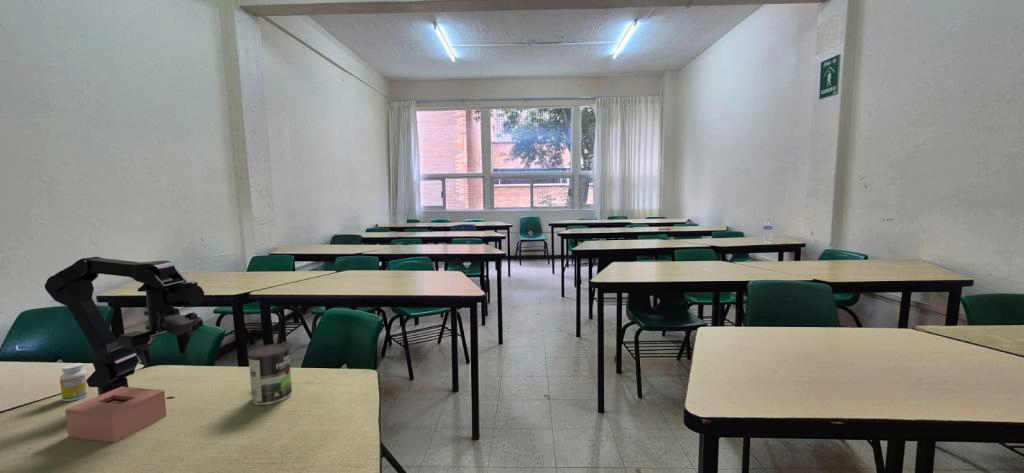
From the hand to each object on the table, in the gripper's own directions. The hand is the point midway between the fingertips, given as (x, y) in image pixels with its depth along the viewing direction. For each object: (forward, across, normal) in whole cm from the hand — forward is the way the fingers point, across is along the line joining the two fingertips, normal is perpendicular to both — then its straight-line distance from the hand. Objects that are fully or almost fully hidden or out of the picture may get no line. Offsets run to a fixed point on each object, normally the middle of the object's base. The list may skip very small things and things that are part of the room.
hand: (166, 360), depth 114 cm
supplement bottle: (+12, -5, +29) cm, 32 cm away
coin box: (+12, -13, -1) cm, 18 cm away
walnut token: (+11, -13, -1) cm, 17 cm away
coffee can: (+12, +9, -27) cm, 31 cm away
